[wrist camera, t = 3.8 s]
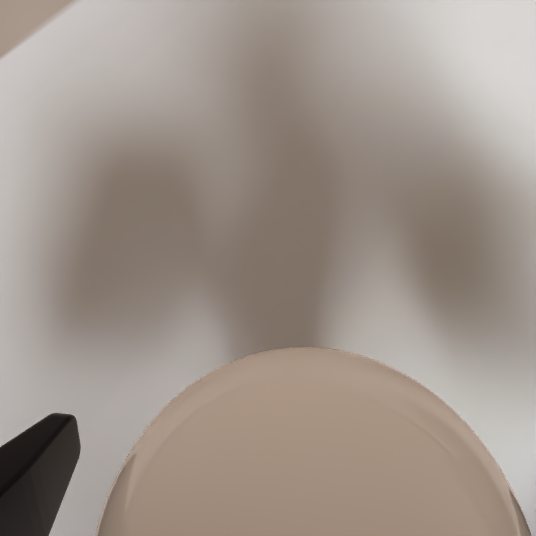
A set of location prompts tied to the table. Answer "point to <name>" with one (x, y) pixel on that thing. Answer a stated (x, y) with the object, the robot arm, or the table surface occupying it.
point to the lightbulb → (309, 457)
